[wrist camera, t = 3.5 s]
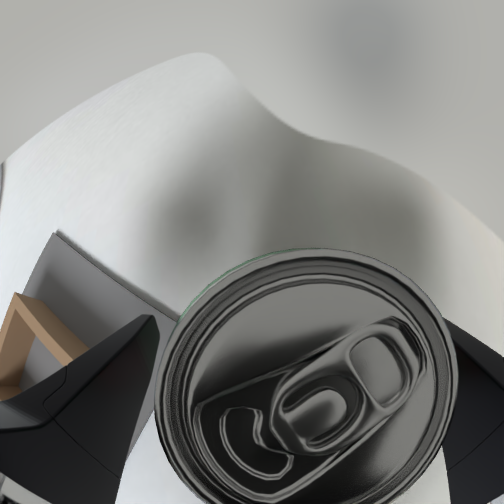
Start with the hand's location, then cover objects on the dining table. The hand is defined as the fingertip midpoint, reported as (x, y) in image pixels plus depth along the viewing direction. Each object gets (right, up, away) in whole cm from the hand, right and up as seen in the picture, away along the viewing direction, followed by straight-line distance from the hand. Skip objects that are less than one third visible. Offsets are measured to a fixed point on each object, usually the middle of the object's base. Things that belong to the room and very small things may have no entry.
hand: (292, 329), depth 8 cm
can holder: (-15, -7, +6) cm, 17 cm away
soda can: (0, -3, +6) cm, 7 cm away
